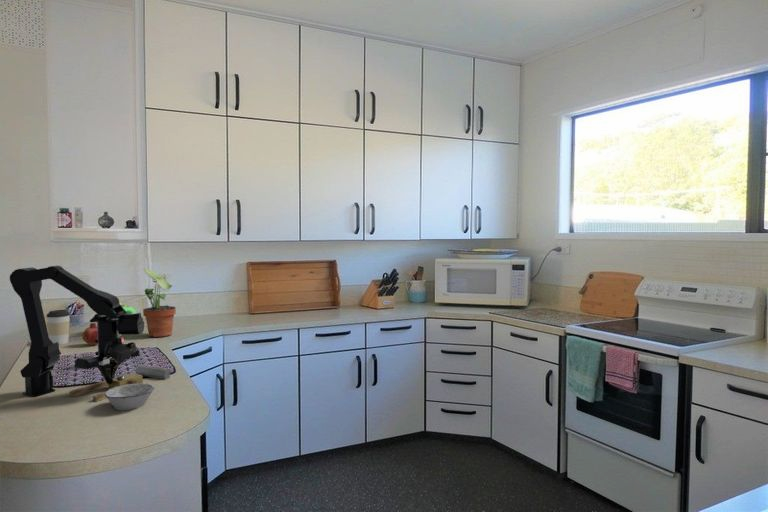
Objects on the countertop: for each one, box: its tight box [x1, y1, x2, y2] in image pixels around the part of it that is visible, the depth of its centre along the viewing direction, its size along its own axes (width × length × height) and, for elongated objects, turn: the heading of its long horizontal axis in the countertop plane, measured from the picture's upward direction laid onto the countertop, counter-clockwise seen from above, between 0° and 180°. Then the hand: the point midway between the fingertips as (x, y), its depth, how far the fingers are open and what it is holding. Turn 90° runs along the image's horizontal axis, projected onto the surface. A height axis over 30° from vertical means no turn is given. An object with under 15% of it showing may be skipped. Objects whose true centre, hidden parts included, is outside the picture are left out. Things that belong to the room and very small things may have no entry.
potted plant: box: [142, 268, 177, 338], centre depth 241 cm, size 16×15×35 cm
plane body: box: [69, 379, 137, 402], centre depth 159 cm, size 14×12×2 cm
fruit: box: [81, 322, 98, 346], centre depth 223 cm, size 8×8×10 cm
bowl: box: [104, 383, 155, 411], centre depth 147 cm, size 13×13×5 cm
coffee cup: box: [45, 309, 71, 345], centre depth 228 cm, size 9×9×15 cm
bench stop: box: [135, 364, 171, 380], centre depth 176 cm, size 2×14×3 cm, turn 65°
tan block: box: [107, 372, 144, 390], centre depth 164 cm, size 8×6×4 cm
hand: (109, 383), depth 160 cm, fingers closed
